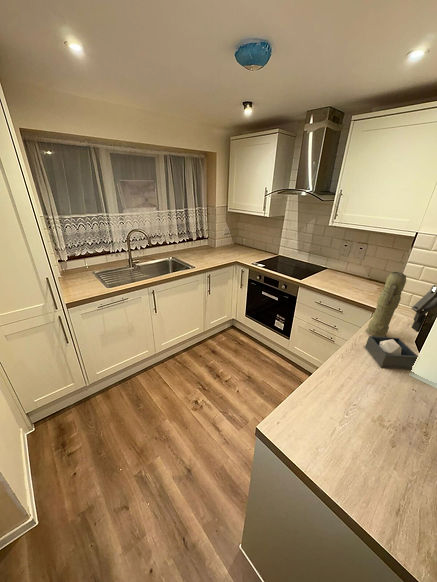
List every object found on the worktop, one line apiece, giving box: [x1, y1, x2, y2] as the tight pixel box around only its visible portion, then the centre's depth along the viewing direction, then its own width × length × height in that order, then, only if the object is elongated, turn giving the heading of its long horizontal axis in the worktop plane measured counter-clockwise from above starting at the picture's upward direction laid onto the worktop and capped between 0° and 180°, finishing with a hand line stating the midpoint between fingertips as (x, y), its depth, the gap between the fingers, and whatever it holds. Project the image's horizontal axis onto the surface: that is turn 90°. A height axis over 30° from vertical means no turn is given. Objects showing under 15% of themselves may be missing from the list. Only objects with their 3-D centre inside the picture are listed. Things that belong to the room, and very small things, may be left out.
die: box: [379, 339, 402, 355], centre depth 109 cm, size 8×9×10 cm
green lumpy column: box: [366, 271, 407, 337], centre depth 121 cm, size 9×12×35 cm
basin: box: [364, 335, 419, 370], centre depth 109 cm, size 14×14×7 cm
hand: (435, 331), depth 80 cm, fingers open, 13 cm apart
